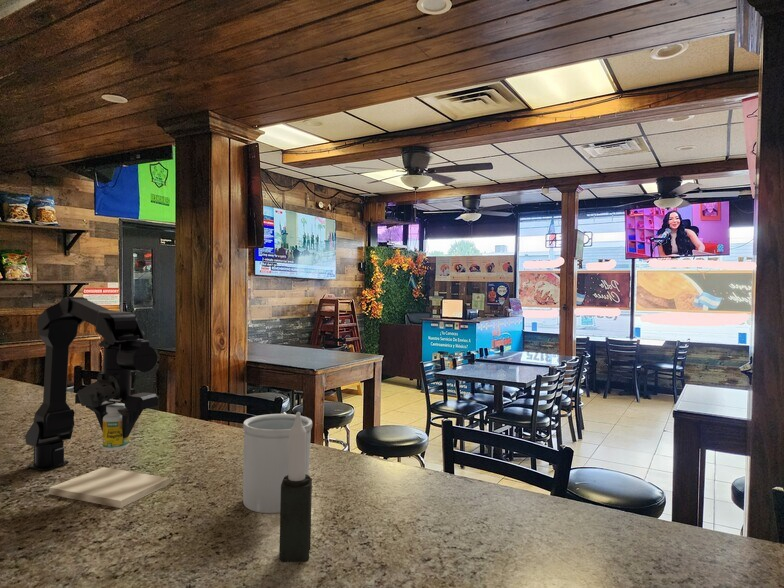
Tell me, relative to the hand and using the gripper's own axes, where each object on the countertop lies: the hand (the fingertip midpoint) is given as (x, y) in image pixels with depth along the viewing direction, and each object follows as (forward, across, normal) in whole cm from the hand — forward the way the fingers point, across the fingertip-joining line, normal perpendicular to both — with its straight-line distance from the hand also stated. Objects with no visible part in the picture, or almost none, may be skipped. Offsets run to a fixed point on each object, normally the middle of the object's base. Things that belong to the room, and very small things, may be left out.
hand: (115, 436), depth 115 cm
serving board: (+12, -1, 0) cm, 12 cm away
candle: (+12, +52, -11) cm, 55 cm away
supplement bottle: (+3, 0, 0) cm, 3 cm away
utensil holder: (+12, +37, +8) cm, 40 cm away
